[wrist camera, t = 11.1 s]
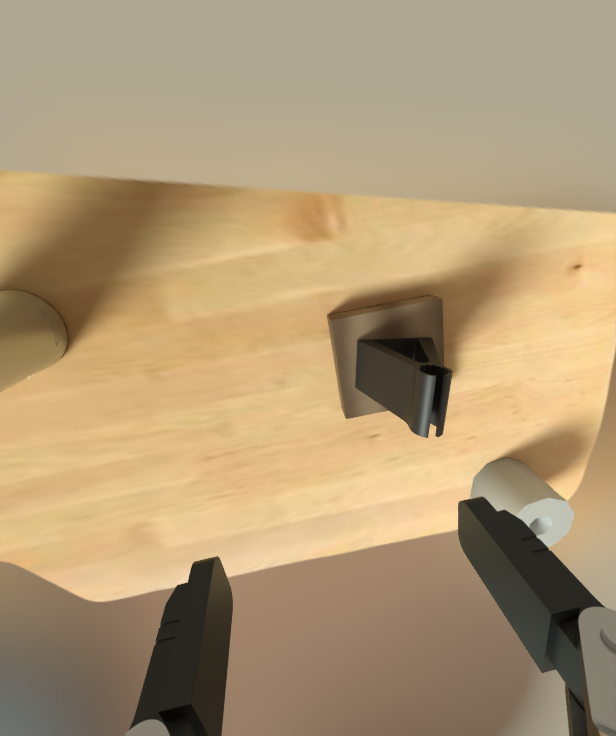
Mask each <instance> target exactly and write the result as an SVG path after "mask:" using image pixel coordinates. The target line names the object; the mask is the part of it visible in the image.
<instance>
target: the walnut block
mask: <svg viewBox="0 0 616 736" xmlns="http://www.w3.org/2000/svg"><path fill="white" fill-rule="evenodd" d="M327 319H328V325H329V331H330V337H331V344H332V350H333V356H334V363H335V369H336V375H337V381H338V388H339V394H340V400H341V407H342V410H343V413H344V415H345V418H346V419H349V418H354V417H359V416H364V415H369V414H373V413H378V412H383V411H388V409H386V408H385V407H383V406H382V405H380V404H379V403H377V402H376V401H374V400H373V399H371V398H370V397H368V396H367V395H365V394H364V393H362V392H361V391H359V390H358V389H356V388H355V379H356V357H357V340H360V339H390V338H393V339H396V338H420V337H431V338H433V341H434V344H435V347H436V350H437V353H438V356H439V359H440V362H441V364H442V365H443V366H444V346H443V312H442V298H439V297H436V296H433V295H427V296H422V297H417V298H412V299H407V300H402V301H397V302H392V303H387V304H381V305H376V306H371V307H366V308H361V309H356V310H351V311H346V312H341V313H336V314H331V315H327Z"/></svg>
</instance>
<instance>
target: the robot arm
mask: <svg viewBox="0 0 616 736" xmlns="http://www.w3.org/2000/svg"><path fill="white" fill-rule="evenodd" d="M67 341H68V339H67V331H66V328H65V325H64V323H63V321H62V319H61V318H60V316H59V314H58V313H57V312H56V311H55V310H54V309H53V308H52V307H51V306H50V305H49V304H48V303H46V302H45V301H44V300H42V299H40V298H39V297H37V296H35V295H32V294H30V293H27V292H23V291H18V290H5V291H0V392H2V391H4V390H6V389H8V388H9V387H11V386H13V385H15V384H17V383H19V382H21V381H23V380H24V379H26V378H28V377H30V376H32V375H34V374H36V373H38V372H40V371H42V370H44V369H45V368H47V367H49V366H51V365H53V364H54V363H56V362H57V361H58V360H60V358H61V357H62V356H63V354H64V352H65V350H66V348H67ZM458 535H459V540H460V544H461V546H462V548H463V551H464V553H465V555H466V556H467V558H468V559H469V561H470V562H471V564H472V566H473V567H474V569H475V570H476V572H477V573H478V575H479V576H480V578H481V579H482V581H483V583H484V584H485V586H486V587H487V589H488V590H489V592H490V593H491V595H492V596H493V598H494V599H495V601H496V602H497V604H498V606H499V607H500V609H501V610H502V612H503V613H504V615H505V617H506V618H507V620H508V621H509V623H510V624H511V626H512V627H513V629H514V630H515V632H516V633H517V635H518V637H519V638H520V640H521V641H522V643H523V644H524V646H525V647H526V649H527V650H528V652H529V654H530V655H531V657H532V658H533V660H534V661H535V663H536V664H537V666H538V667H539V669H540V671H541V672H542V673H544V672H547V671H551V670H555V669H556V670H557V671H558V673H559V674H560V675H561V677H562V678H563V680H564V681H565V694H566V705H567V716H568V725H569V736H616V611H614V610H612V609H608V608H606V607H604V606H603V605H602V604H601V603H600V602H599V601H597V599H596V598H595V597H594V596H593V595H592V594H591V593H590V592H589V591H588V590H587V589H586V588H585V587H584V586H583V584H582V583H581V582H579V580H578V579H577V578H576V577H575V576H574V575H573V574H572V573H571V572H570V571H569V570H568V568H567V567H566V566H565V565H564V564H563V563H562V562H561V561H560V560H559V559H558V558H557V557H556V556H555V555H554V554H553V552H552V551H549V549H548V547H547V546H546V545H545V544H544V543H543V542H542V541H541V540H540V539H539V538H537V536H536V534H535V533H534V532H533V531H532V530H531V529H530V528H529V527H528V526H527V525H526V524H525V522H524V521H523V520H521V519H519V518H518V517H516V516H515V515H513V514H511V513H510V512H508V511H507V510H501V511H497V510H496V509H495V508H494V507H493V506H492V505H491V504H490V502H489V501H488V500H487V499H486V498H484V497H482V496H481V497H476V498H472V499H468V500H463V501H460V502H459V504H458ZM232 612H233V599H232V592H231V587H230V584H229V582H228V579H227V576H226V574H225V571H224V568H223V566H222V563H221V560H220V558H219V557H218V556H217V557H212V558H208V559H204V560H199V561H195V562H194V563H193V564H192V567H191V571H190V575H189V580H188V583H185V584H180V585H177V587H176V588H175V590H174V592H173V593H172V595H171V597H170V598H169V600H168V601H167V603H166V606H165V609H164V613H163V617H162V620H161V627H160V628H159V631H158V635H157V638H156V645H155V646H154V649H153V653H152V656H151V660H150V663H149V667H148V670H147V674H146V678H145V682H144V685H143V688H142V692H141V696H140V700H139V703H138V707H137V710H136V714H135V717H134V720H133V722H132V724H131V727H130V729H129V731H128V732H127V733H126V734H125V735H124V736H221V733H222V723H223V711H224V701H225V689H226V678H227V667H228V656H229V645H230V633H231V623H232Z"/></svg>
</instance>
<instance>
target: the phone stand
mask: <svg viewBox="0 0 616 736" xmlns="http://www.w3.org/2000/svg"><path fill="white" fill-rule="evenodd" d="M451 378H452V371H451V370H450V369H449V368H447V367H445V366H443V365H442V364H441V362H440V359H439V356H438V353H437V350H436V347H435V344H434V341H433V338H431V337H420V338H396V339H393V338H390V339H360V340H357V357H356V379H355V388H356V389H358V390H359V391H361V392H362V393H364V394H365V395H367V396H368V397H370V398H371V399H373V400H374V401H376V402H377V403H379V404H380V405H382V406H383V407H385V408H386V409H388V410H389V411H391V412H392V413H394V414H395V415H397V416H398V417H400V418H401V419H402V420H404V421H405V422H406V423H407V424H408V426H409V428H410V430H411V431H412V432H413V433H415V434H417V435H419V436H422V437H426V438H428V433H429V426H430V423H431V424H432V425H435V426H436V427H437V429H436V435H435V436H437V437H440V436H441V435H442V434H443V430H444V423H445V417H446V410H447V404H448V398H449V391H450V385H451Z"/></svg>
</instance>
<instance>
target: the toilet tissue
mask: <svg viewBox="0 0 616 736" xmlns="http://www.w3.org/2000/svg"><path fill="white" fill-rule="evenodd" d="M481 496H482V497H484V498H486V499H487V500H488V501H489V502H490V504H491V505H492V506H493V507H494V508H495V509H496V510H497V511H501V510H507V511H508V512H510V513H511V514H513V515H515V516H516V517H518V518H519V519H521V520H523V521H524V522H525V524H526V525H527V526H528V527H529V528H530V529H531V530H532V531H533V532H534V533H535V534H536V536H537V538H539V539H540V540H541V541H542V542H543V543H544V544H545V545H546V546H547V547H550V546H552V545H554V544H555V543H556V542H558V541H559V540H560V539H561V538H562V537H563V536H564V535H565V534H567V533H568V532H569V530H570V527H571V524H572V521H573V518H574V515H575V514H574V512H573V511H572V509H571V507H570V506H569V504H568V502H567V501H566V500H565V499H564V498H563V497H561V496H560V495H559V494H558V493H557V492H556V491H555V490H553V489H552V488H551V487H550V486H549V485H548V484H547V483H546V482H544V481H543V480H542V479H541V478H540V477H539V476H538V475H537V474H535V473H534V472H533V471H532V470H531V469H530V468H529V467H527V466H526V465H525V464H524V463H523V462H522V461H518V460H514V459H509V458H503V459H500V460H497V461H494V462H491V463H488V464H486V465H485V466H484V467H483V469H482V470H481V471H480V472H479V473H478V474H477V475H476V476H475V477H474V479H473V484H472V490H471V495H470V499H472V498H476V497H481Z"/></svg>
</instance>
